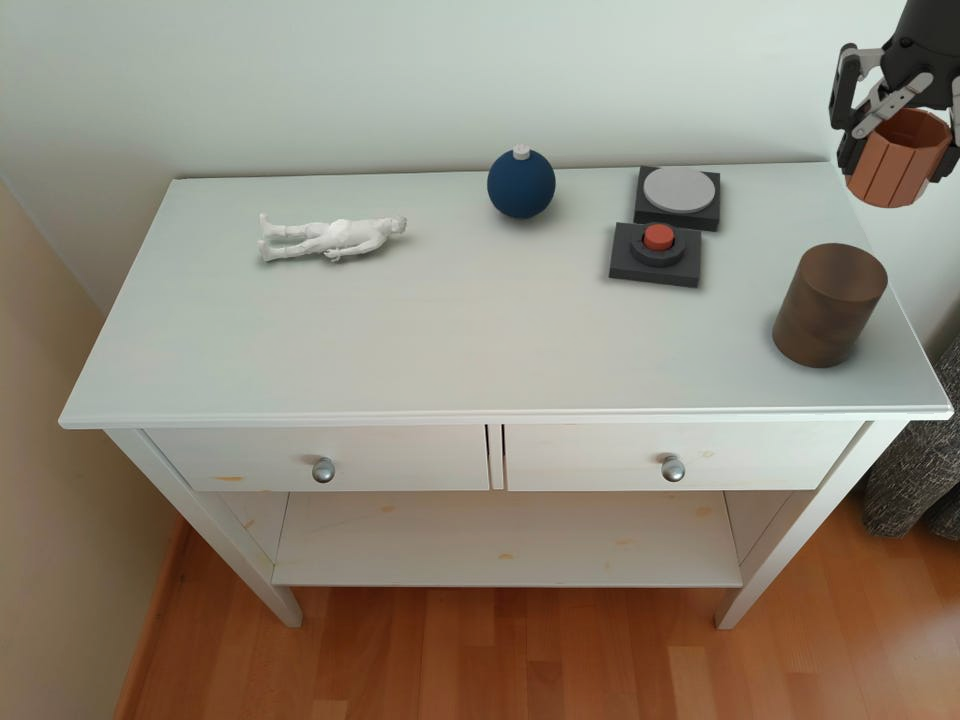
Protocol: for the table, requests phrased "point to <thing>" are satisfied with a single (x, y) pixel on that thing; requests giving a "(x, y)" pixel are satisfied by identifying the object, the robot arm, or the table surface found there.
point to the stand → (828, 304)
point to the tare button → (658, 237)
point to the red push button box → (656, 256)
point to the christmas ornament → (521, 183)
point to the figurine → (330, 237)
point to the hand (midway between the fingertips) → (888, 172)
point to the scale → (678, 197)
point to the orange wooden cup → (899, 159)
